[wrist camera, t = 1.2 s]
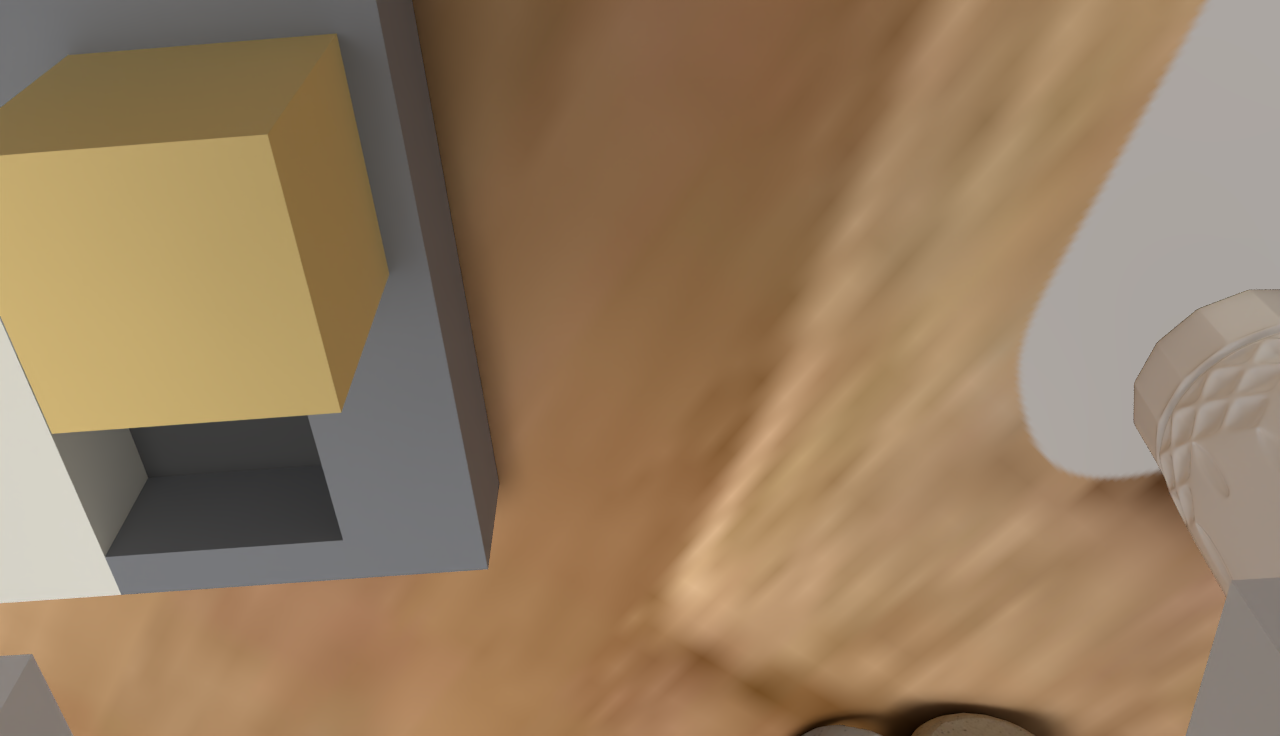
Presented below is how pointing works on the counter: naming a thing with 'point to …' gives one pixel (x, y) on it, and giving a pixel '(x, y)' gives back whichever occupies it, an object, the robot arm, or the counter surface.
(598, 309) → the counter surface
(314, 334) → the ochre cube
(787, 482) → the counter surface
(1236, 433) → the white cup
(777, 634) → the counter surface
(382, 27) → the tray
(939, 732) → the ceramic mug
